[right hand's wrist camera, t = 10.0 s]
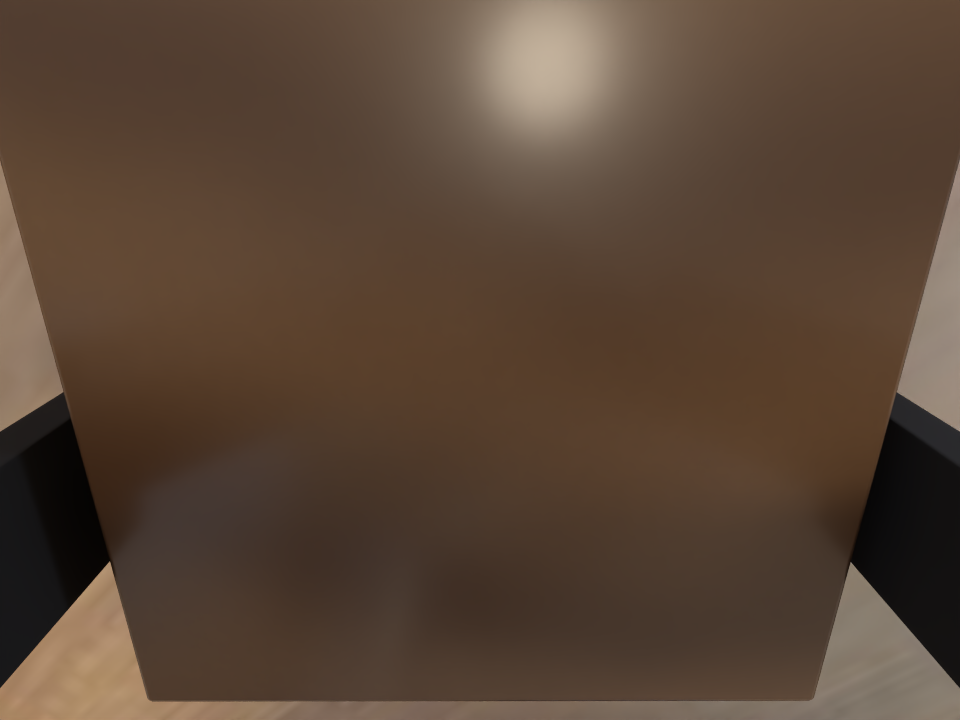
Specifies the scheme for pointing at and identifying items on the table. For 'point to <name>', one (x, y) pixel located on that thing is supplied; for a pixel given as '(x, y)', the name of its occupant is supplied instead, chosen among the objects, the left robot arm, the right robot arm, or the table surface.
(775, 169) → the cabinet
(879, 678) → the table surface
